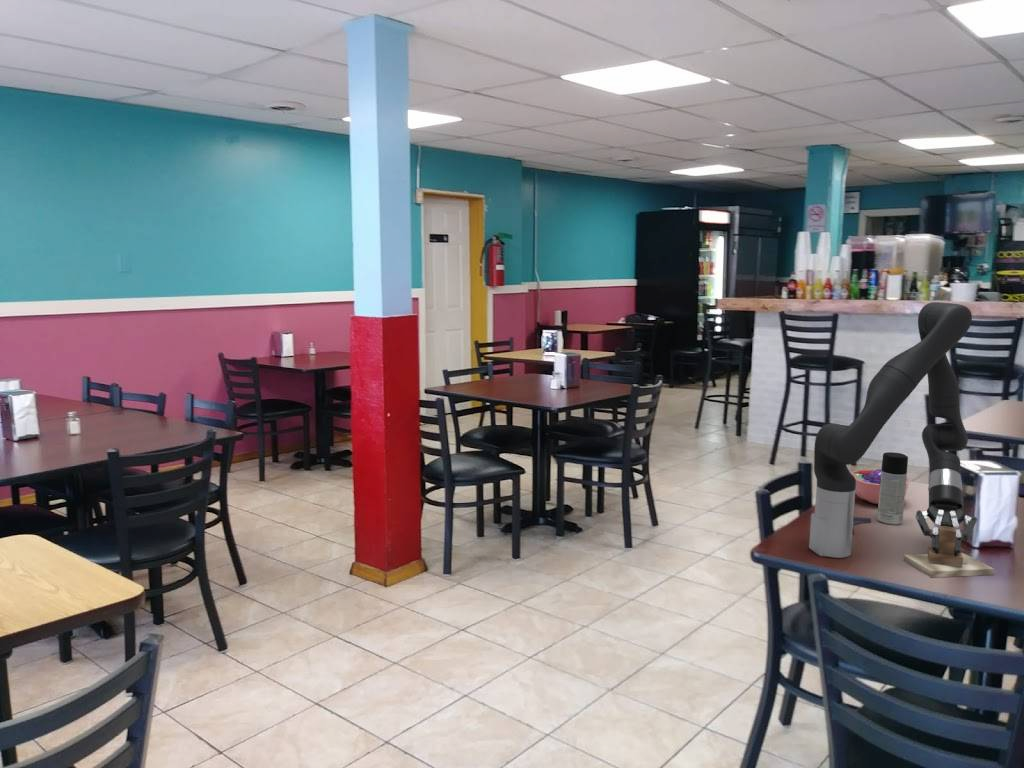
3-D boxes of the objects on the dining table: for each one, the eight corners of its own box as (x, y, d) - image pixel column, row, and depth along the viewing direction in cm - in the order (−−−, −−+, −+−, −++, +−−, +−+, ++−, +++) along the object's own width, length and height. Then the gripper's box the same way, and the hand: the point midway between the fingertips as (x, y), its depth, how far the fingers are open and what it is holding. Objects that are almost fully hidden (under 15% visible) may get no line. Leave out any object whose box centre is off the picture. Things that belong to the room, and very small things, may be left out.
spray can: (896, 518, 231) (901, 451, 228) (907, 525, 224) (912, 457, 221) (873, 517, 231) (878, 451, 228) (883, 525, 224) (888, 457, 221)
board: (931, 577, 186) (931, 571, 186) (903, 560, 197) (903, 554, 196) (993, 574, 188) (994, 568, 188) (962, 558, 199) (962, 552, 198)
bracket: (823, 535, 218) (823, 525, 217) (817, 518, 232) (817, 509, 231) (879, 540, 214) (880, 530, 213) (869, 523, 228) (870, 514, 228)
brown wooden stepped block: (929, 563, 191) (932, 529, 190) (927, 556, 195) (930, 523, 194) (961, 567, 188) (965, 533, 187) (959, 560, 193) (962, 527, 191)
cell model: (911, 498, 251) (914, 464, 249) (904, 514, 234) (907, 478, 233) (854, 490, 260) (856, 457, 258) (843, 505, 243) (846, 470, 241)
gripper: (915, 480, 199) (915, 541, 190) (979, 486, 193) (982, 549, 184) (912, 495, 204) (912, 555, 195) (974, 501, 199) (977, 563, 190)
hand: (946, 552), depth 190 cm, fingers closed on brown wooden stepped block, 3 cm apart
